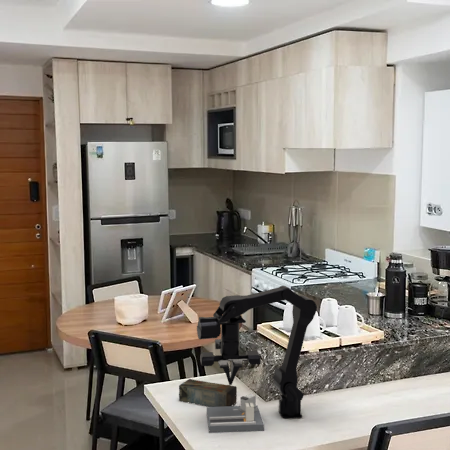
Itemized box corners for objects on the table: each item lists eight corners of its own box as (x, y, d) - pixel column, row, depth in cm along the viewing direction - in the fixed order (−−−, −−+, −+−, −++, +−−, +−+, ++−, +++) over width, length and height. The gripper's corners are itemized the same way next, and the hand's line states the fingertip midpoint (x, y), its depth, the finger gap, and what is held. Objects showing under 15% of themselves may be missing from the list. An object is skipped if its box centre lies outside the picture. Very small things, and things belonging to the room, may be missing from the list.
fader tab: (252, 417, 198) (252, 402, 197) (253, 421, 195) (254, 406, 194) (245, 417, 197) (245, 402, 197) (246, 421, 194) (246, 406, 194)
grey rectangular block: (250, 405, 208) (250, 393, 207) (255, 407, 206) (255, 394, 205) (240, 409, 204) (240, 397, 204) (245, 411, 202) (245, 399, 202)
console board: (257, 410, 209) (257, 403, 208) (263, 430, 194) (263, 422, 193) (206, 412, 207) (206, 405, 207) (209, 432, 192) (209, 424, 192)
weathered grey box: (189, 393, 224) (189, 376, 224) (238, 403, 216) (238, 384, 215) (178, 401, 217) (178, 383, 217) (228, 411, 209) (228, 392, 208)
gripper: (255, 328, 206) (255, 374, 208) (199, 330, 205) (199, 376, 206) (261, 338, 195) (260, 386, 197) (201, 340, 194) (201, 389, 195)
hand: (230, 384), depth 199 cm, fingers closed
